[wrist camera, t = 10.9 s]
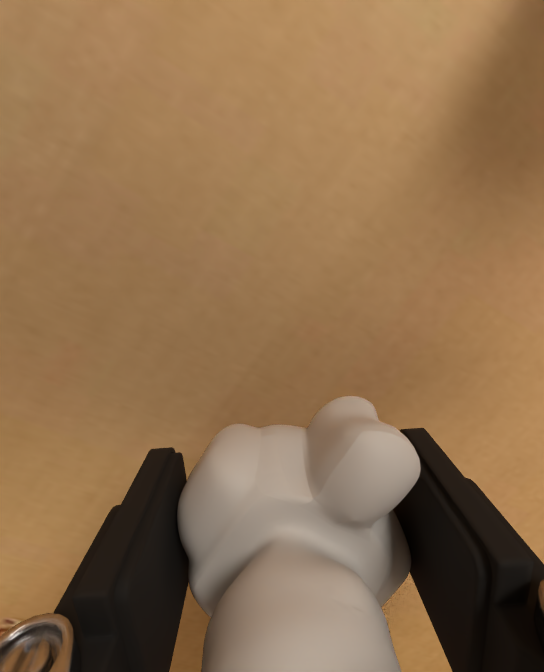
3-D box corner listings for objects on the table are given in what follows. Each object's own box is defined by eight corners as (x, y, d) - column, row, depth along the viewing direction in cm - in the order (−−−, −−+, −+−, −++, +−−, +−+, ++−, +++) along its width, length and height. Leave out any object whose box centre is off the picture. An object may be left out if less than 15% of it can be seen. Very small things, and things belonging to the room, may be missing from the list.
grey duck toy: (158, 499, 11) (-92, 1126, 3) (272, 318, 10) (306, 680, 2) (307, 570, 12) (388, 1200, 4) (433, 414, 10) (923, 936, 3)
